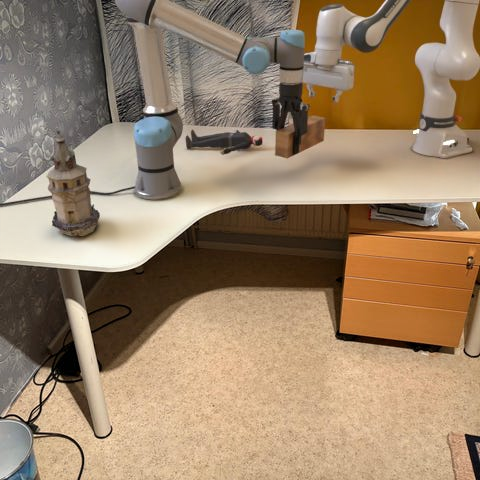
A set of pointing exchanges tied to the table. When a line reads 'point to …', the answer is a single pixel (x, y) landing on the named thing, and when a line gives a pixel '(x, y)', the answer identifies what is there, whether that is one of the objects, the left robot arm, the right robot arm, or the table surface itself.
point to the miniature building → (70, 193)
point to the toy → (224, 141)
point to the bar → (307, 140)
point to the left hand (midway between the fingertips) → (288, 151)
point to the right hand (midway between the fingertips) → (323, 99)
